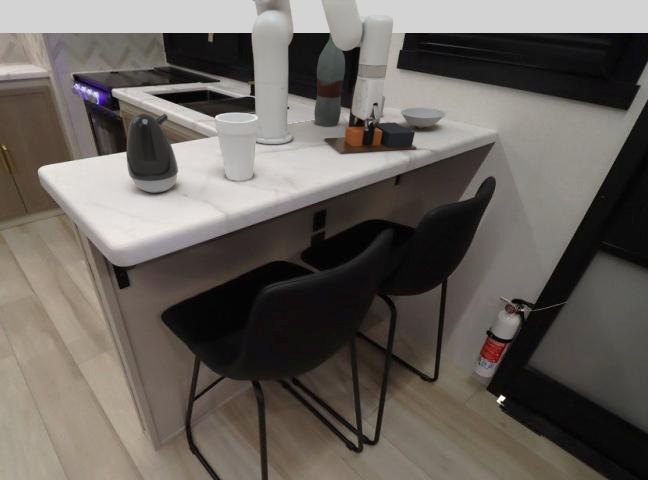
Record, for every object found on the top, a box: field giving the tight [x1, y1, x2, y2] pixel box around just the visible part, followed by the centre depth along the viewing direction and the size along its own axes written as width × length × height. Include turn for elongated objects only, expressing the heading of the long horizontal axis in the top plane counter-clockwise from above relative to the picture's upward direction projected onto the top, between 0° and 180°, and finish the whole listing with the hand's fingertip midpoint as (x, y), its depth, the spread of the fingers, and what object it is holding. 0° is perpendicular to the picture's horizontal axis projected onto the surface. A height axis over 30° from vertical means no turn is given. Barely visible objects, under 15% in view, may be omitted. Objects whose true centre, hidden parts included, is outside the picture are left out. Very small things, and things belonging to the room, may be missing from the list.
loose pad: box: [344, 126, 382, 147], centre depth 113 cm, size 9×6×4 cm, turn 105°
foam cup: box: [214, 112, 258, 182], centre depth 87 cm, size 10×9×13 cm
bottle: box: [313, 32, 346, 128], centre depth 125 cm, size 9×9×30 cm
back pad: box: [376, 122, 416, 148], centre depth 115 cm, size 8×12×4 cm, turn 15°
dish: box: [400, 107, 447, 129], centre depth 131 cm, size 18×14×5 cm
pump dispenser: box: [125, 112, 179, 194], centre depth 79 cm, size 10×10×15 cm
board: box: [324, 136, 417, 155], centre depth 115 cm, size 24×14×1 cm, turn 105°
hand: (362, 141), depth 113 cm, fingers closed on loose pad, 6 cm apart
